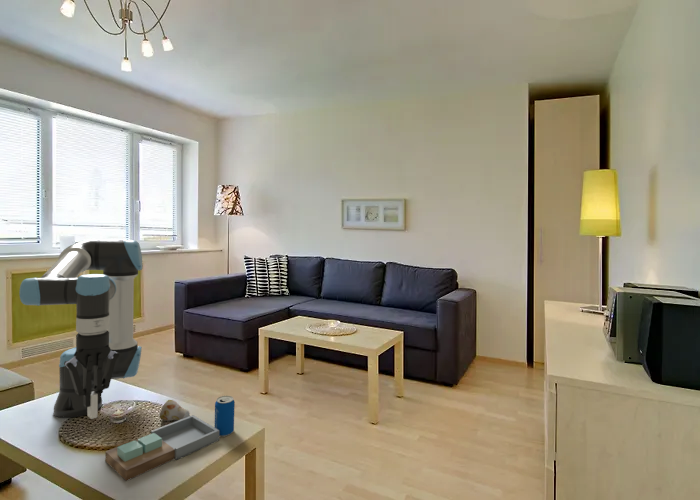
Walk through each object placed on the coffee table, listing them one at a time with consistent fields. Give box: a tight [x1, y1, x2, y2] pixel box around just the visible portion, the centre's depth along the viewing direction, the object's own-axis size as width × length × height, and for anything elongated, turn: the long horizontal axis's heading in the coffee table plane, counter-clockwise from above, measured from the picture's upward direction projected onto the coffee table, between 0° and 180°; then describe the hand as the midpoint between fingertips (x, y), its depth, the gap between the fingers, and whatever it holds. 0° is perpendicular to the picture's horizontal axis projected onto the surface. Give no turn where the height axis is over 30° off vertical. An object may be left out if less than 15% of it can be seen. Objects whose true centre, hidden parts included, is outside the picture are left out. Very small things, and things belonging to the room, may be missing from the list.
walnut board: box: [104, 438, 175, 482], centre depth 120 cm, size 14×14×3 cm
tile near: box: [116, 439, 143, 461], centre depth 117 cm, size 5×5×2 cm
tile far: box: [137, 433, 162, 453], centre depth 122 cm, size 5×5×2 cm
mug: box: [158, 399, 191, 422], centre depth 145 cm, size 8×10×10 cm
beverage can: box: [213, 395, 236, 437], centre depth 137 cm, size 6×6×12 cm
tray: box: [150, 414, 220, 461], centre depth 131 cm, size 16×15×4 cm
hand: (92, 416), depth 109 cm, fingers closed
